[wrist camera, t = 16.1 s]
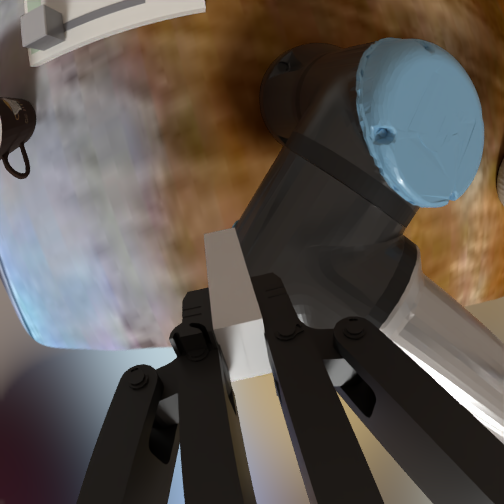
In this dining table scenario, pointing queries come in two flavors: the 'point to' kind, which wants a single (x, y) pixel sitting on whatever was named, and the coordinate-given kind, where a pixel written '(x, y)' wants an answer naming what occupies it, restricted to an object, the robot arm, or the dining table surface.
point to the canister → (501, 183)
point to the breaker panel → (105, 20)
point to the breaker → (42, 28)
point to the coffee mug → (15, 130)
